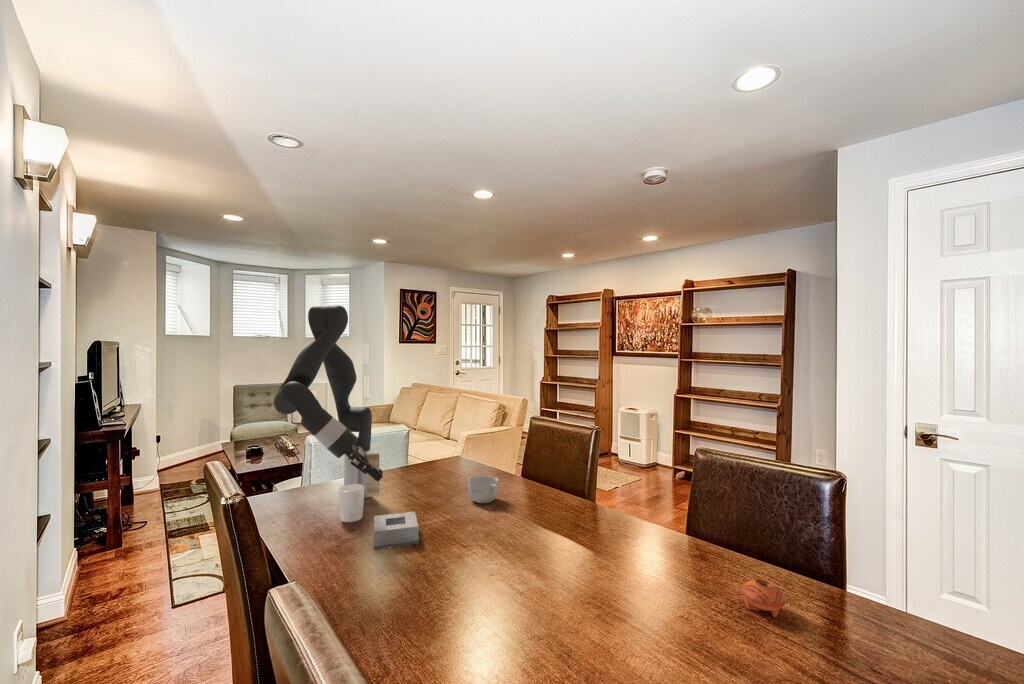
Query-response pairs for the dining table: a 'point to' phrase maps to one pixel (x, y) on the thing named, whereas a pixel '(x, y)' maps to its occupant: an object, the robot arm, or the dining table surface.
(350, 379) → the robot arm
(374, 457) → the square wooden peg
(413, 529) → the grey square socket block
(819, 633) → the dining table surface
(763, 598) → the footed terracotta jar
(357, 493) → the white cup
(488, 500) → the teacup
